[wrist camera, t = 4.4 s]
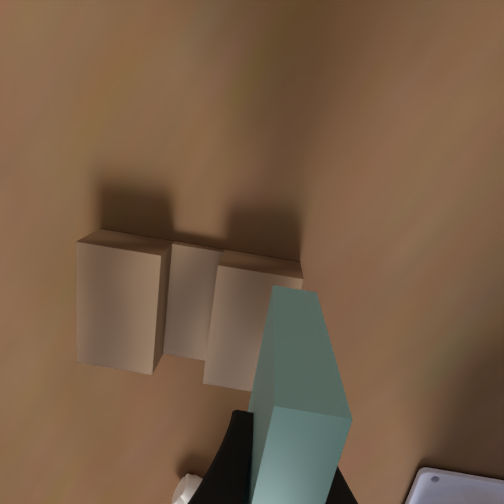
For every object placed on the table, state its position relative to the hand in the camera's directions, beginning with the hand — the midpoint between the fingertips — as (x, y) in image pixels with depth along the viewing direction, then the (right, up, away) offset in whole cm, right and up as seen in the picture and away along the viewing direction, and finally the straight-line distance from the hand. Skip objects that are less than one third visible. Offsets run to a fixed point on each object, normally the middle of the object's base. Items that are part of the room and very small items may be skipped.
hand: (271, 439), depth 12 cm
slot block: (-4, +3, +9) cm, 10 cm away
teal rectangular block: (0, +1, +2) cm, 2 cm away
